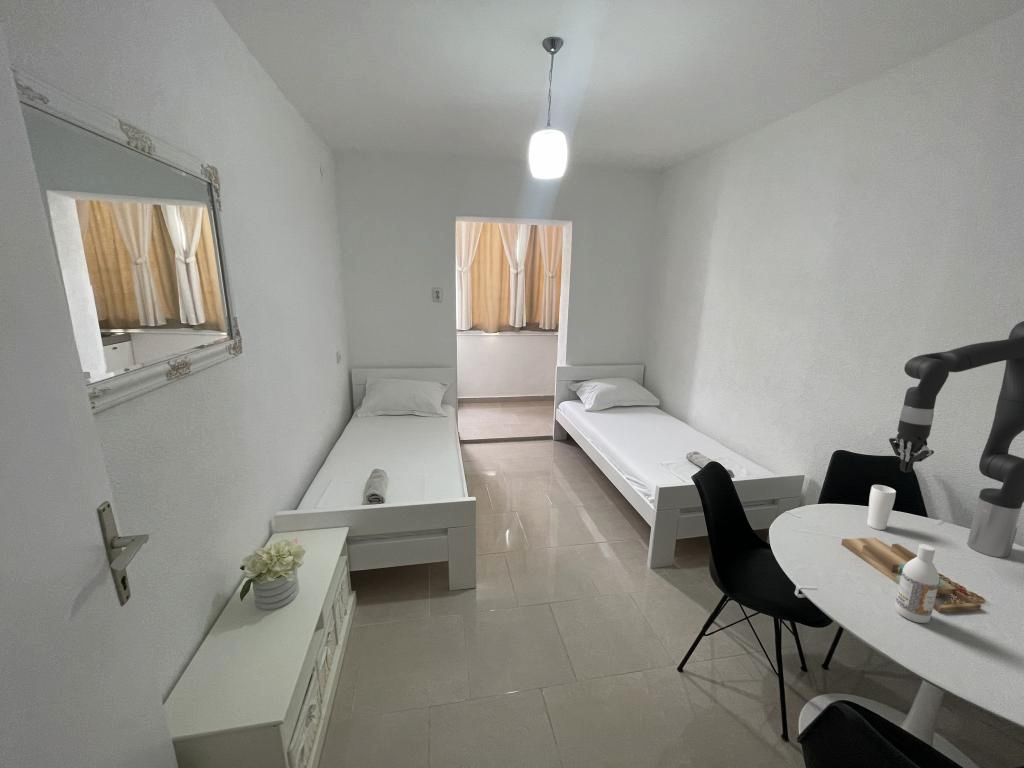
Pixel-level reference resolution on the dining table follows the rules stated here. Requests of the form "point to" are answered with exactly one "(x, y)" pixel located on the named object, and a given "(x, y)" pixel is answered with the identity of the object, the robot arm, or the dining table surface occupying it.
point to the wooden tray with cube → (889, 565)
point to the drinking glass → (880, 506)
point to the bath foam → (918, 586)
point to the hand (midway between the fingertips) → (905, 471)
